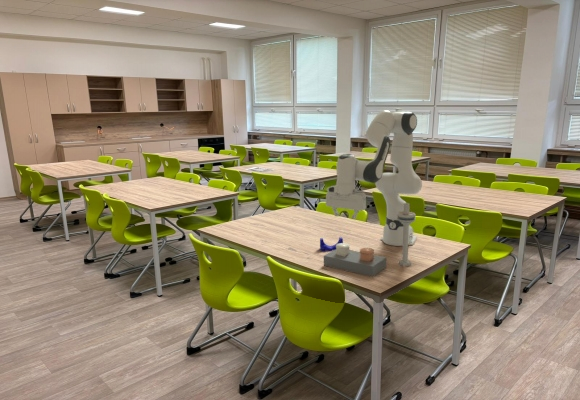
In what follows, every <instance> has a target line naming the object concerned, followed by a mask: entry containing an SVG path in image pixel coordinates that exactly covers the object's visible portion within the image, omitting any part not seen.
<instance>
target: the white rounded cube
mask: <svg viewBox="0 0 580 400" xmlns="http://www.w3.org/2000/svg"><path fill="white" fill-rule="evenodd" d="M335 244H336V243H335ZM349 250H350V244H349V243H345V242H343V243H339V244H336V255H339V256H344V257H345V256H347V255H349Z"/></svg>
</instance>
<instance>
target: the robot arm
mask: <svg viewBox="0 0 580 400" xmlns="http://www.w3.org/2000/svg"><path fill="white" fill-rule="evenodd" d="M417 125H418V118H417V116H416V113H414V112H411V111H393V112H392V111H389V110H387V109H385V110H380V111H379V112H378V113H377V114H376V115H375V116H374V118H373V119H372V121H371V122H370V124H369V126H368V127H367V130H366V134H365V137H366V140H367V141H368V143H369V144H370V145H371V146H373V147H375V148H376V149H377V150H376V153H375V156H374V158H373V159H371V160H359V159H358V158H356V157H355V155H354V154H352V153H345V154H341V155H339V156H338V158H337V160H336V161H337V162H336V182H335V183H336V184H333V185H331V186H328V187H327V188H326V191H327V192H326V195H325V205H326V206H327V207H330V208H332V211H333V214H334V217H339V216H340V212H339V211H338V210H337V209H339V208H340V209H345V210H351V211H352V210H353V212H354V213H353V214H352V215H351V219H352V220H356V219H357V215H358V213H359V212H360V211H364V210H365V209H367V201H366V197H367V196H366V195H367V194H366V192H365V191H363V190H360V189H359V190H357V189H356V181H361V182H367V183H371V184H375V187H376V189H377V191H379V192H380V193H381V194H382V196H383V198H384V200H385V203H386V218H385V225H384V226H383V230H382V232H383V233H382V237H380V240H381V241H382V242H383V243H384V244H386V245H389V246H396V247H397V246H398V247H403V224H402V223H401V222H400V221H398V220H397V218H398V216H397V213H398V212H402V211H404V203H407V202H406V201H405V200H404V199H402V198H401V196H400V194H401V195H416V194H417V195H418V193H419V192H420V191H421V190H422V187H423V182H422V179H421V178H420V176H419V175H418V174H417V173H416V172H415V170H414V168H413V162H412V161H413V160H412V159H413V157H412V156H413V148H414V147H413V146H414V145H413V144H414V137H413V136H414V134H413V133H414V131H415V130H416V127H417ZM391 134H393V137H392V141H391V138H390V135H391ZM391 142H392V143H391ZM389 151H390V158H389V159H390V163H391V164H392V165H393V166H395V167H396V168H397V169H398V172H384V168H385V164H386V161H387V158H388V155H389ZM417 239H418V235H415V234H414V229H413V227H412V226H411V225H410V224H409V235H408V246H413V245H414V244H415V242H416V240H417Z"/></svg>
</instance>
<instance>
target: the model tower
mask: <svg viewBox="0 0 580 400" xmlns="http://www.w3.org/2000/svg"><path fill="white" fill-rule="evenodd" d="M397 216H398V218H397V220H398V221H400V222H401V223H402V224H403V246H402V254H401V256H402V258H401V260H398V264H399V265H400V266H401V267H403V268H404V267H405V268H406V267H411V266H412V262H411V261H410V260H408V259H409V245H408V235H409V225H410V224H412V223H413V222H415V221H416V213H415V212H413V211H410V203H409V202H406V203H404V211H402V212H398V213H397Z"/></svg>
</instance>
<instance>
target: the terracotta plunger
mask: <svg viewBox="0 0 580 400" xmlns="http://www.w3.org/2000/svg"><path fill="white" fill-rule="evenodd" d="M359 252H360V260H363V261H367V262H370V261H372V260H373V259H374V255H375V249H374V248H372V247H361V248H360V249H359Z"/></svg>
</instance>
